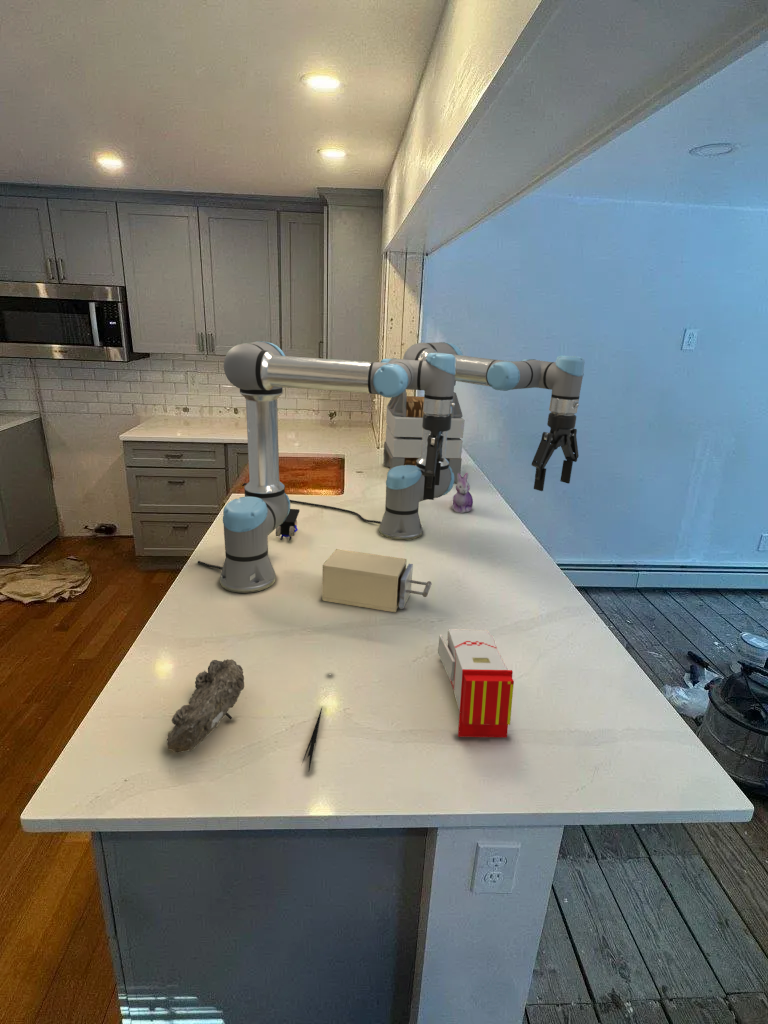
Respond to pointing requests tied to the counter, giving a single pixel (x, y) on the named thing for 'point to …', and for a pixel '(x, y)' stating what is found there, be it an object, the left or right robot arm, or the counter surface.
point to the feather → (313, 740)
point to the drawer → (409, 586)
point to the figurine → (462, 495)
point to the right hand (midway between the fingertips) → (551, 486)
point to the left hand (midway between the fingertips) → (431, 491)
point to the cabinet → (362, 579)
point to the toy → (478, 682)
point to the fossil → (206, 705)
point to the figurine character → (288, 525)
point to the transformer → (418, 433)
